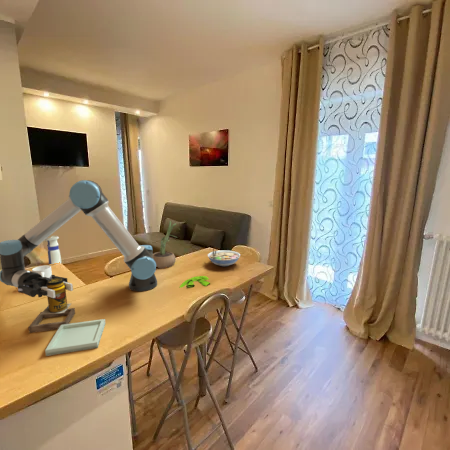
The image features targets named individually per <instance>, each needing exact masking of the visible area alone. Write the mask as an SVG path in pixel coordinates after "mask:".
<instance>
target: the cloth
mask: <svg viewBox="0 0 450 450" xmlns="http://www.w3.org/2000/svg"><path fill="white" fill-rule="evenodd" d="M208 280H210V278H209V277H208V276H206V275H199V276H198V275H197V276H193V277H191V278H187V279H186V280H184V282H182V283H181V284H180V286H179V288H180V289H181V288H184V287H185V286H186V289H188V288H195V284H194V282H198V283H199V284H200V285H201V286H202V287H208V286H209V285H211V282H209V281H208Z"/></svg>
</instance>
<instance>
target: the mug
mask: <svg viewBox="0 0 450 450" xmlns="http://www.w3.org/2000/svg"><path fill="white" fill-rule="evenodd" d="M31 271H32V272H35V273H39V274H40V275H41V276H42V277H47V278H50V277H51V275H53V272H52V265H49V264H48V265H40V266H35V267H34V268H32V269H31ZM42 288H43V287H41V289H42ZM45 288H47V287H45Z"/></svg>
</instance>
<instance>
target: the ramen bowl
mask: <svg viewBox="0 0 450 450" xmlns="http://www.w3.org/2000/svg"><path fill="white" fill-rule="evenodd" d="M207 257H208V258H209V261H211V262H212V264H214V265H217V266H220V267H229V266H232V265H234V264H236V263H237V262H238V260H239V259H240V257H241V254H240V252H238V251H233V250H229V249H227V250H217V248H213V251H211V252H209V253H207Z"/></svg>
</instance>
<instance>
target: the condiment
mask: <svg viewBox="0 0 450 450" xmlns="http://www.w3.org/2000/svg"><path fill="white" fill-rule="evenodd" d="M47 288H48V289H52V290H55V298H51V297H48V296H46V297H47V304H48V305H47V307H46V308H45V309H43V311H41V312H42V313H41V312H40V313H41V314H57V313H64V312H65V311H66V310H67V309H70V306H71V305H72V303H68V299H67V290H66V289H65V285H64V282H63V279H62V278H54V279H51V280H49V281H47ZM40 313H39V314H40ZM41 314H40V315H41Z"/></svg>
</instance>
